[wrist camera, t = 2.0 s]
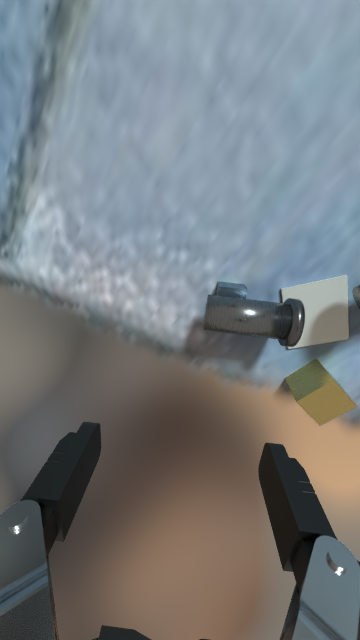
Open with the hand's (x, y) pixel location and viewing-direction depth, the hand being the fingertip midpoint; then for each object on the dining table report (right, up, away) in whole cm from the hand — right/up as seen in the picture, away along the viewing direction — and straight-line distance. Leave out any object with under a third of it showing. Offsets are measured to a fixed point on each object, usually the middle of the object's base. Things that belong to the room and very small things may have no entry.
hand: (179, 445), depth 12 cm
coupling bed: (+15, +7, +16) cm, 23 cm away
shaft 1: (+7, +8, +16) cm, 19 cm away
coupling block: (+17, -2, +19) cm, 25 cm away
